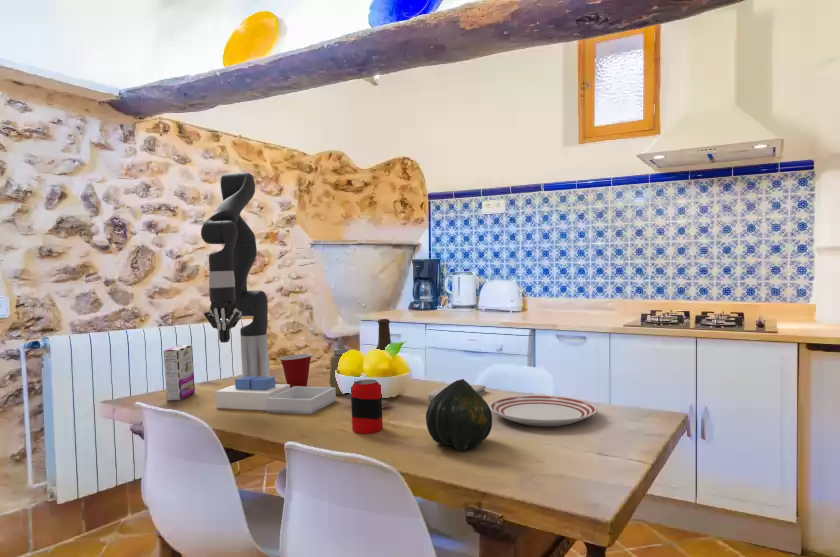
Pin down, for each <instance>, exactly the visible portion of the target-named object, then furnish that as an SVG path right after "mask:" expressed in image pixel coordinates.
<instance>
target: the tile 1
mask: <svg viewBox="0 0 840 557" xmlns="http://www.w3.org/2000/svg"><path fill="white" fill-rule="evenodd" d="M257 377H259V376H243V377H242V376H241V377H238V378H237V377H236V378H234V385H235V389H246V390H250V389H252V388H251V380H252V379H255V378H257Z"/></svg>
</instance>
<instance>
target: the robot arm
mask: <svg viewBox="0 0 840 557" xmlns="http://www.w3.org/2000/svg"><path fill="white" fill-rule="evenodd" d="M220 192H221V195H222V196H221V197H222V201H221V202H220V204H219V205H218V207H217V208H216V210H215V212H214V213H213V214H212V215H211V216H210V217H208V218H207V219H206V220H205V221H204V222H203V224H202V227H201V229H200V236H201V239H202V240H203V242H204V243H206V244H208V245H224V246H223V247H222V249H220V250H218V251H214V252H211V253H210V254H209V255H208V267H209V268H208V271H209V272H208V273H209V275H208V288H209V290H208V291H209V302H210V306H209V310H208V311H205V312H204V313H203V316H204V318H206V320H207V321H208V323H209V324H210V325H211V327H212V328H213V329H216V330H218V338H219V342H220V343H229V342H230V339H231V332H230V330H231V329H233V328H236V326H237V324H238V323H239V321H240V319H241V318H242V317H252V321H251V322H250V323H249V324H247V325H244V326H242V327H241V328H240V332H239V333H240V334H239V335H240V352H241V353H240V354H241V356H240V357H241V377H243V376H259V377H260V376H264V377H271V374H270V355H269V352H268V351H269V348H268V321H269V319H268V315H269V314H268V311H269V308H268V307H269V304H268V303H269V302H268V297H267V296H268V295H267V294H266V292H265V291H263V290H248V284H247V283H248V276H249V273H250V271H251V269H252V267H253V265H254V263H255V261H256V257H257V254H258V249H257V240H256V235H255V234H254V231H253V230H252V229H251V227H250V226H249V225H248V224H247V222H246V221H245V220H244V218H243V217H242V216H241V212H242V211H243V210H244V208H245V207H246V206H247V205H248V203H250V201H251V200H252V199H253V197H254V195H255V192H256V183H255V179H254V176H253V174H252V173H249V172H230V173H229V172H228V173H223V174H222V175H221V177H220Z"/></svg>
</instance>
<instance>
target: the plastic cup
mask: <svg viewBox="0 0 840 557" xmlns="http://www.w3.org/2000/svg"><path fill="white" fill-rule="evenodd" d="M312 356H313V354H312V353H299V354H292V355H286V356H280V357H279V358H278V360H279V361H280V363H281V365H282V369H283V372H284V377H285V381H286V384H290V388H292V387H294V386H301V387H308V380H309V372H310V366H311V365H310V364H311V358H312Z"/></svg>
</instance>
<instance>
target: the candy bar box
mask: <svg viewBox="0 0 840 557" xmlns="http://www.w3.org/2000/svg"><path fill="white" fill-rule="evenodd" d="M193 356H194V354H193V344H180V345H176V346H174V347H171V348H168V349H165V350H163V358H164V359H163V362H164V363H163V364H164V373H165V375H164V376H165V393H166V402H167V401H169V402H174V401H175V402H176V401H182V400H184V399H186V398H188V397H189V396H192V395H193V394H195V393H196V391H195V390H196V389H195V388H196V387H195V375H194V372H195V371H194V358H193Z"/></svg>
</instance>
